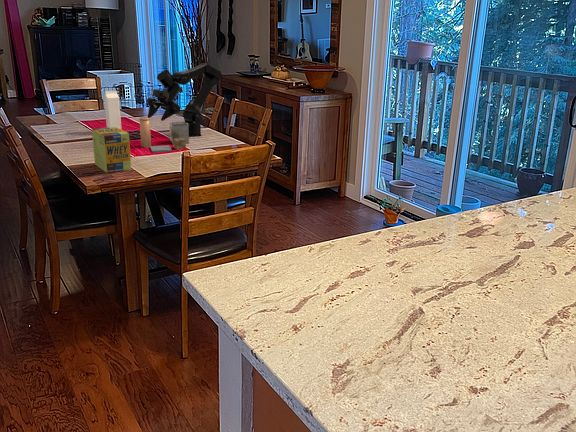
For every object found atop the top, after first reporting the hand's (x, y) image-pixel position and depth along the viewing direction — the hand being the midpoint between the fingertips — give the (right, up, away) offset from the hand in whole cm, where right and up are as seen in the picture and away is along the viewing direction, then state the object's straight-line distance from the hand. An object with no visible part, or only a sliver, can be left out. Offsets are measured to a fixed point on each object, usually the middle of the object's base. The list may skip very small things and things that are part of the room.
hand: (155, 119), depth 270 cm
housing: (+10, -10, +10) cm, 17 cm away
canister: (-4, -13, -1) cm, 14 cm away
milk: (-27, -3, +25) cm, 37 cm away
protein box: (-9, -27, -36) cm, 46 cm away
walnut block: (+12, -14, -2) cm, 19 cm away
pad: (+4, -16, -6) cm, 17 cm away
